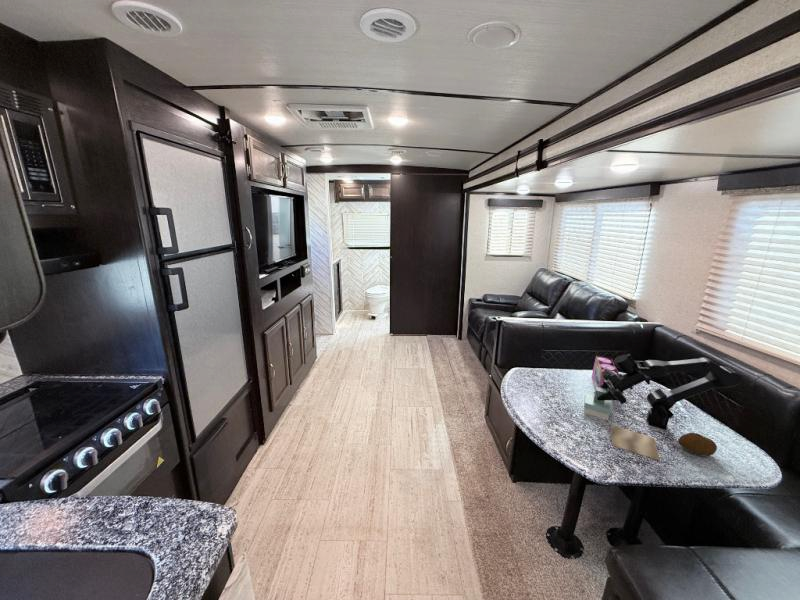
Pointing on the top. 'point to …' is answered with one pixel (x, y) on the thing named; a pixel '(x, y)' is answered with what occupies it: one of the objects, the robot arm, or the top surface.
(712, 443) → the potato
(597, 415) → the box
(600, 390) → the lid
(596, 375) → the gum box
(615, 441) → the cork mat
